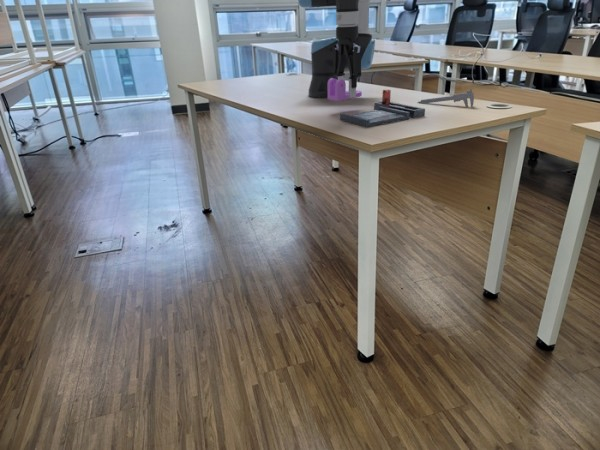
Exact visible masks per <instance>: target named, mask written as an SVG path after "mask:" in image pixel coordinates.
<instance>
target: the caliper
mask: <svg viewBox="0 0 600 450" xmlns="http://www.w3.org/2000/svg"><path fill="white" fill-rule="evenodd" d="M468 99H469V102H470V107H473V106H474V101H475V95H474V92H473V91H472V89H466V92H461V93H456V94H453V95H448V96H441V97H433V98H426V99H425V98H424V99H420V101H418V102H417V104H424V103H425V104H431V103H439V102H440V103H441V102H448V101H453V103H456V102H461V101H463V103H464V106H465V107H468V106H469V105H468V104H469V102H468Z"/></svg>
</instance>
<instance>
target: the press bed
mask: <svg viewBox="0 0 600 450" xmlns="http://www.w3.org/2000/svg"><path fill="white" fill-rule="evenodd" d="M409 116H410V112H406V111H402V110H397V109H392V108H387V107H382V106H380V107H379V109H378V110H375V109H373V110H369V111H363V112H358V113H357V112H356V113H352V114H348V113H345V112H340V113H339V120H340V121H341V122H345V123H350V124H353V125H355V126H360V127H364V128H372V127H375V126H381V125H386V124H390V123H395V122H401V121H406V120H410V117H409Z"/></svg>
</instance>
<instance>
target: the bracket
mask: <svg viewBox="0 0 600 450" xmlns="http://www.w3.org/2000/svg"><path fill="white" fill-rule="evenodd" d="M332 84H333V85H332ZM340 84H341V85H340ZM346 86H347V85H346V80H345V81H344V80H340V79H339V80H337V79H335V78H330V79H329V80H328V84H327V87H328V97H327V100H331V101H335V102H340V101H345V100H349V99H350V100H351V99H355V98H360V97H362V96H363V94H362V93H363V92H362V91H361V90H357V89H356V97H352V98H349V90H346Z"/></svg>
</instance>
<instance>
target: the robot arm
mask: <svg viewBox="0 0 600 450" xmlns="http://www.w3.org/2000/svg"><path fill="white" fill-rule="evenodd" d="M370 3H371V0H298V5H299V7H301V8H310V9H312V8H324V7H335V24H336V28H335V36H334V37H333V36H332V37H327V38H322V39H318V40H314V41H313V42H312V43H311V49H310V50H311V52H310V54H311V58H310V59H311V80H310V83H309V87H308V96H309V97H312V98H324V99H325V98H328V87H327V84H328V80H329V79H330V78H335V79H337V80H339V79H340V80H344V81H345V82H346V74H345V71H346V70H348V71H349V77H348V91H349V98H351V99H353V98H352V97H356V90H357V86H358V84H357V83H358V82H357V81H358V78H360V77H362V70H367V69H368V70H369V69H370V67H372V63H373V59H374V55H375V48H376V40H375V39H374V38H373V34H372V33H371V32H370V30H369V29H370V25H369V24H370V7H371V5H370ZM332 85H333V84H332ZM340 85H341V84H340ZM356 98H357V97H356Z"/></svg>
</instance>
